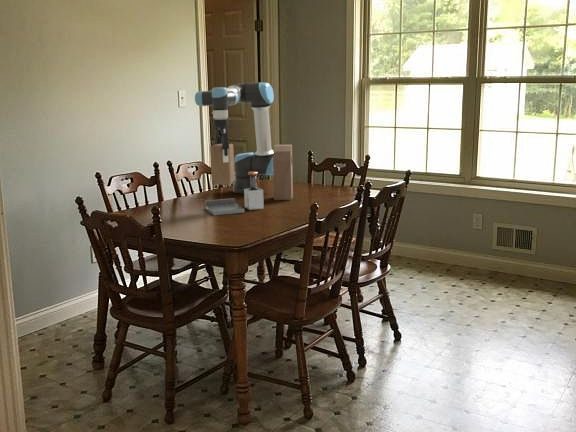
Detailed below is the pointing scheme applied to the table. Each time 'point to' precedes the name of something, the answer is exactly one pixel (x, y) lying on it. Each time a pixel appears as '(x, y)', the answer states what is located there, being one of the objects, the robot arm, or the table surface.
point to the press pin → (253, 179)
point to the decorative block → (282, 172)
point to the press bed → (223, 207)
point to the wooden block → (222, 165)
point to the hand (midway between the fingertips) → (222, 160)
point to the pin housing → (254, 198)
